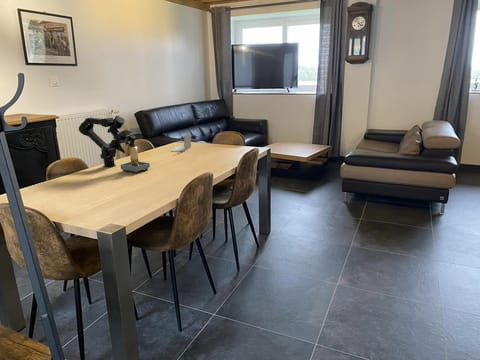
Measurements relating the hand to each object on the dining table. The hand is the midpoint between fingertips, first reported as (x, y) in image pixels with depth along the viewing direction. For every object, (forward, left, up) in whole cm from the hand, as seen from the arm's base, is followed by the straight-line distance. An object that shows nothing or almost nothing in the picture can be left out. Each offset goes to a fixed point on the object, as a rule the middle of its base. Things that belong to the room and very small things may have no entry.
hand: (130, 151), depth 236 cm
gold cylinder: (+3, 0, -9) cm, 10 cm away
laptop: (-6, +69, -13) cm, 70 cm away
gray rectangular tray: (+3, 0, -12) cm, 13 cm away
